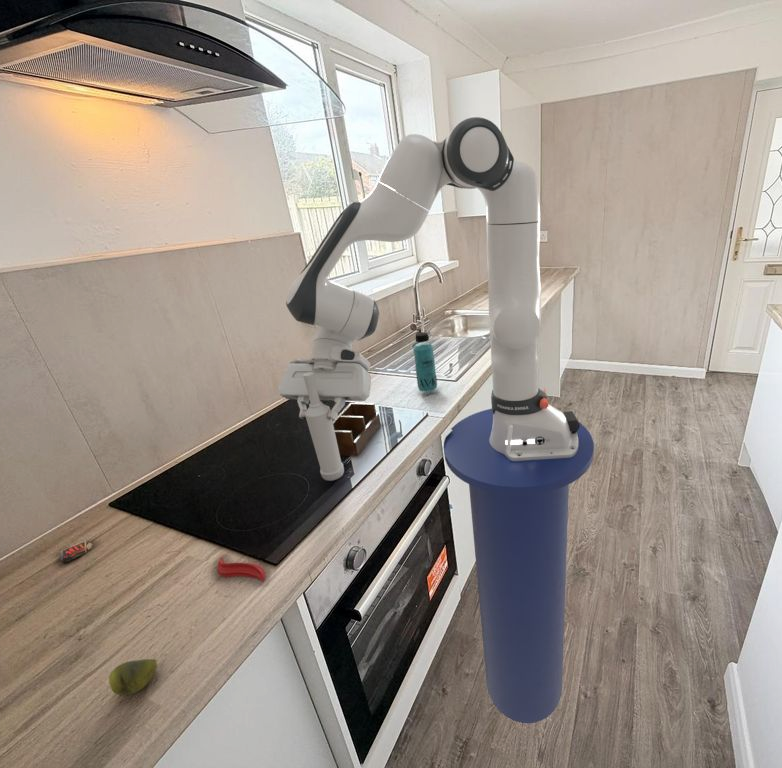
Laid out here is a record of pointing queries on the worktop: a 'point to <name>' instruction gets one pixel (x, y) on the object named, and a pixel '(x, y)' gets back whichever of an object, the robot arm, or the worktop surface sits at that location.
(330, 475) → the bottle
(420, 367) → the beverage bottle
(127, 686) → the olive green oval lump
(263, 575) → the cayenne pepper
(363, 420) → the box
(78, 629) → the worktop surface
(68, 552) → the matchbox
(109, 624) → the worktop surface
